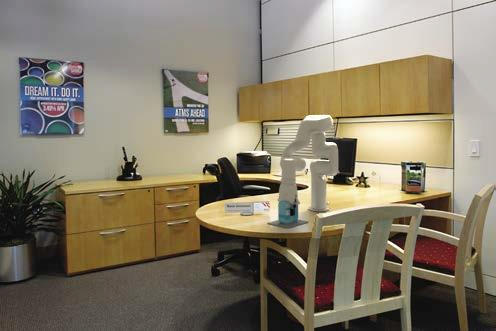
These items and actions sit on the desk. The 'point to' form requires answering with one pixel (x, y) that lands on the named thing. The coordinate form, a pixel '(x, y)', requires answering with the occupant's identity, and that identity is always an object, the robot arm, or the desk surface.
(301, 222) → the desk mat
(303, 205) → the desk surface
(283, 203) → the teal rounded box
